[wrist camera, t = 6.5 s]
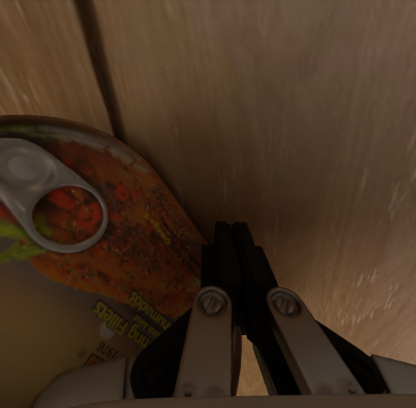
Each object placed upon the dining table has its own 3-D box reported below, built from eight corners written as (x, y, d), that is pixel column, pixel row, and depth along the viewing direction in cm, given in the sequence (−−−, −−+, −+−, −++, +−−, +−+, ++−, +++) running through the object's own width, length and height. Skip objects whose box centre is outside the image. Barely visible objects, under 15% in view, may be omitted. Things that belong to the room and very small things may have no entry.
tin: (248, 298, 14) (239, 510, 7) (212, 302, 15) (176, 481, 9) (102, 92, 8) (-878, 241, 1) (63, 128, 9) (-472, 292, 2)
